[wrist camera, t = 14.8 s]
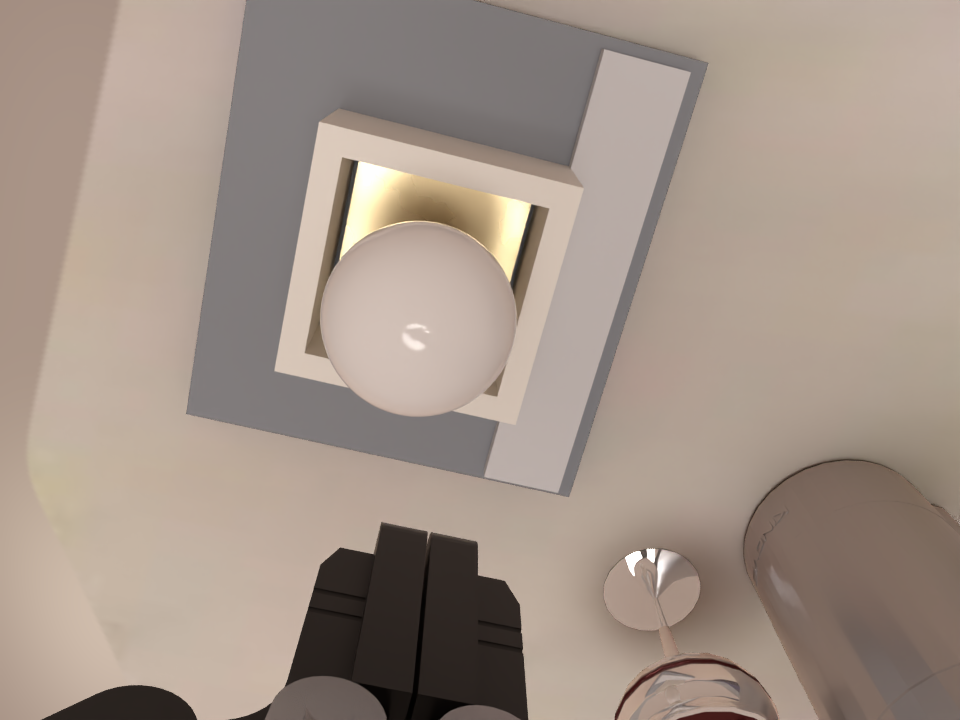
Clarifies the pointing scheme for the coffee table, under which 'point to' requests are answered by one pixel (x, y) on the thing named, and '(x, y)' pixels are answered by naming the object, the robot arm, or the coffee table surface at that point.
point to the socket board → (451, 159)
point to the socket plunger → (434, 210)
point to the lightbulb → (418, 318)
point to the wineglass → (678, 677)
